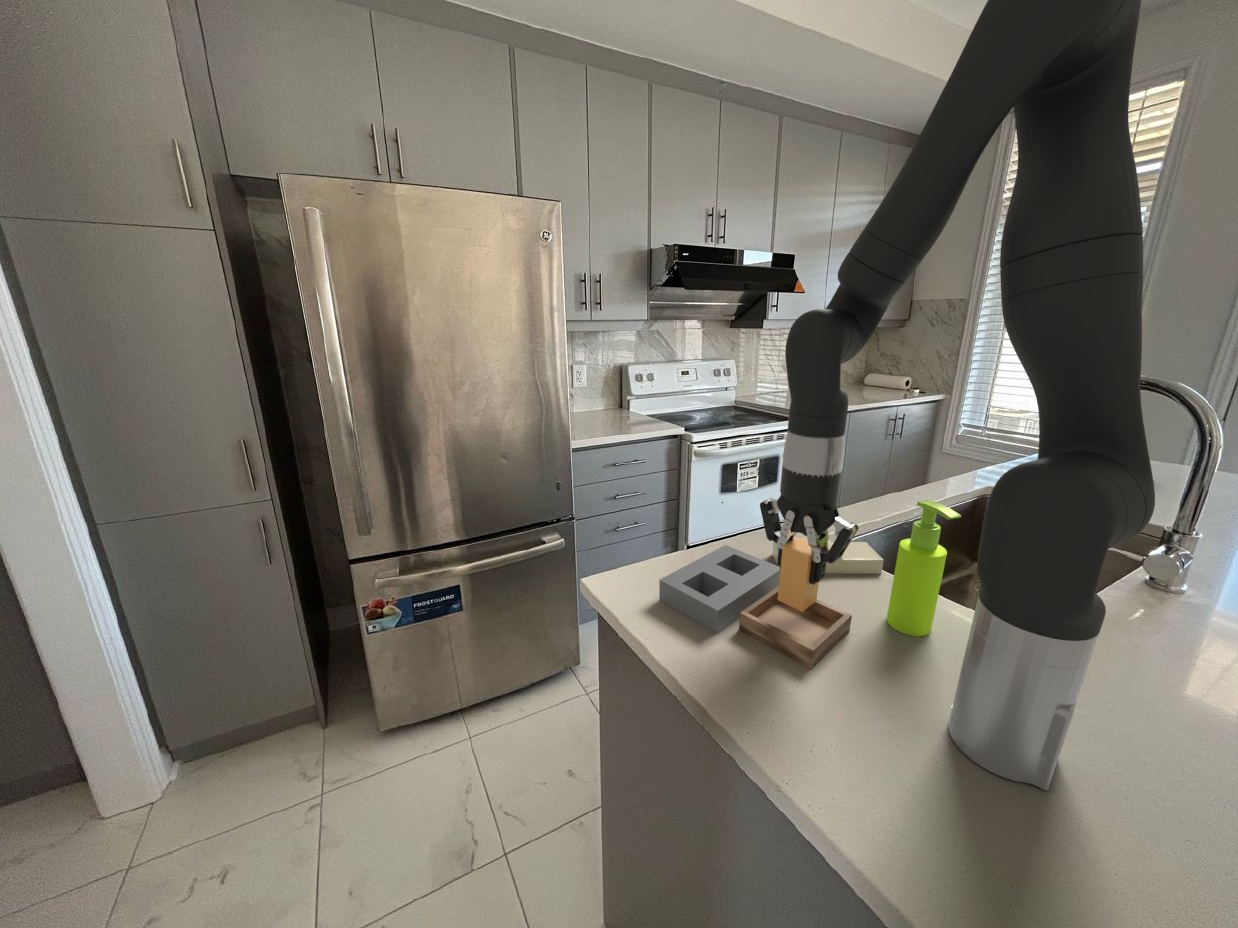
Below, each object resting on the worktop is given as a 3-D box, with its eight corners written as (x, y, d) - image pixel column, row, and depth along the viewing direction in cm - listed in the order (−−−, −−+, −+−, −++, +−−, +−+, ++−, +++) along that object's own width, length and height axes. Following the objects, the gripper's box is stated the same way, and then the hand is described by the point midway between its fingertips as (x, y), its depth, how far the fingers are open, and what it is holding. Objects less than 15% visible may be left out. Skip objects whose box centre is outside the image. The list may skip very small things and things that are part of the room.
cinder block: (780, 588, 83) (782, 568, 82) (716, 633, 72) (717, 610, 71) (724, 563, 92) (725, 544, 91) (659, 600, 81) (659, 579, 80)
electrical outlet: (884, 555, 86) (783, 554, 87) (881, 575, 88) (781, 574, 88) (866, 537, 93) (773, 537, 94) (863, 556, 94) (771, 555, 95)
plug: (816, 600, 71) (823, 546, 68) (802, 611, 68) (809, 555, 66) (791, 589, 74) (797, 537, 71) (777, 599, 71) (782, 545, 68)
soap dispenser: (914, 643, 69) (939, 516, 63) (877, 616, 75) (897, 498, 69) (946, 636, 70) (974, 511, 64) (908, 609, 77) (929, 493, 71)
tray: (849, 631, 72) (851, 614, 71) (811, 669, 65) (813, 650, 64) (779, 599, 80) (781, 584, 79) (738, 629, 73) (739, 612, 72)
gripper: (878, 470, 62) (860, 585, 67) (779, 448, 72) (770, 550, 77) (852, 484, 57) (835, 607, 62) (750, 458, 67) (743, 566, 73)
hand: (799, 575), depth 70 cm, fingers closed on plug, 4 cm apart
